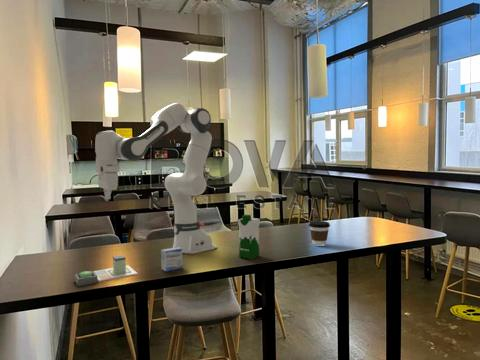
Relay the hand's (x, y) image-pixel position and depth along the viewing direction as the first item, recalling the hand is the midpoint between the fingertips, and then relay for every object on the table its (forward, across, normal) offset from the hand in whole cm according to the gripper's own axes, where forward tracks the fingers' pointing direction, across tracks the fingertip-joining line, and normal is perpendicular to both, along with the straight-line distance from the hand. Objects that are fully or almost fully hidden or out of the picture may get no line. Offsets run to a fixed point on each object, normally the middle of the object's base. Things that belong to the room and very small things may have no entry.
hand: (107, 198), depth 164 cm
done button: (+29, +19, -13) cm, 37 cm away
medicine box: (+29, +23, +20) cm, 42 cm away
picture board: (+29, +15, -2) cm, 33 cm away
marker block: (+28, +15, 0) cm, 32 cm away
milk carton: (+29, +27, +57) cm, 70 cm away
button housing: (+29, +19, -13) cm, 37 cm away
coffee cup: (+29, +30, +99) cm, 108 cm away
